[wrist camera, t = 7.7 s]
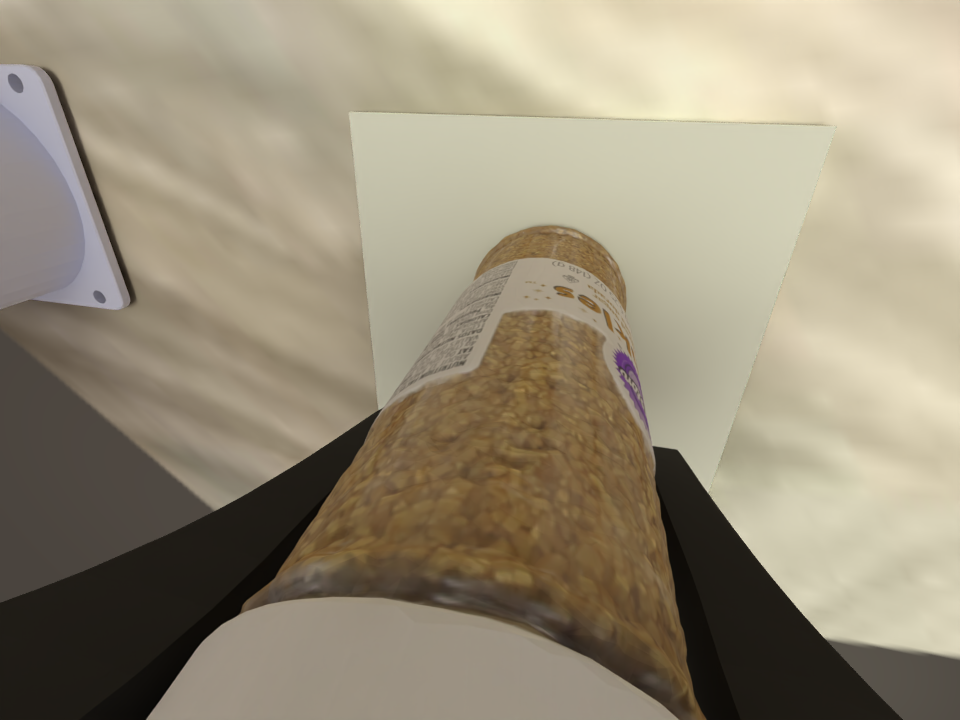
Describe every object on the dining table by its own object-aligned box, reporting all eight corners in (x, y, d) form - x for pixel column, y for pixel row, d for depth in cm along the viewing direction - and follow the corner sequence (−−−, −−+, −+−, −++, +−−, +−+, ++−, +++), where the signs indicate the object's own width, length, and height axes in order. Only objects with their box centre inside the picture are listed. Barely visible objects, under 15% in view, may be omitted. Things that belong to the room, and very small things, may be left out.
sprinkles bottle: (656, 312, 13) (1121, 1595, 2) (532, 388, 15) (375, 1231, 4) (561, 183, 12) (179, 1347, 1) (441, 284, 14) (-172, 1016, 3)
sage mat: (387, 446, 19) (382, 454, 18) (356, 111, 13) (348, 111, 13) (700, 498, 17) (703, 508, 16) (827, 125, 11) (837, 126, 11)
